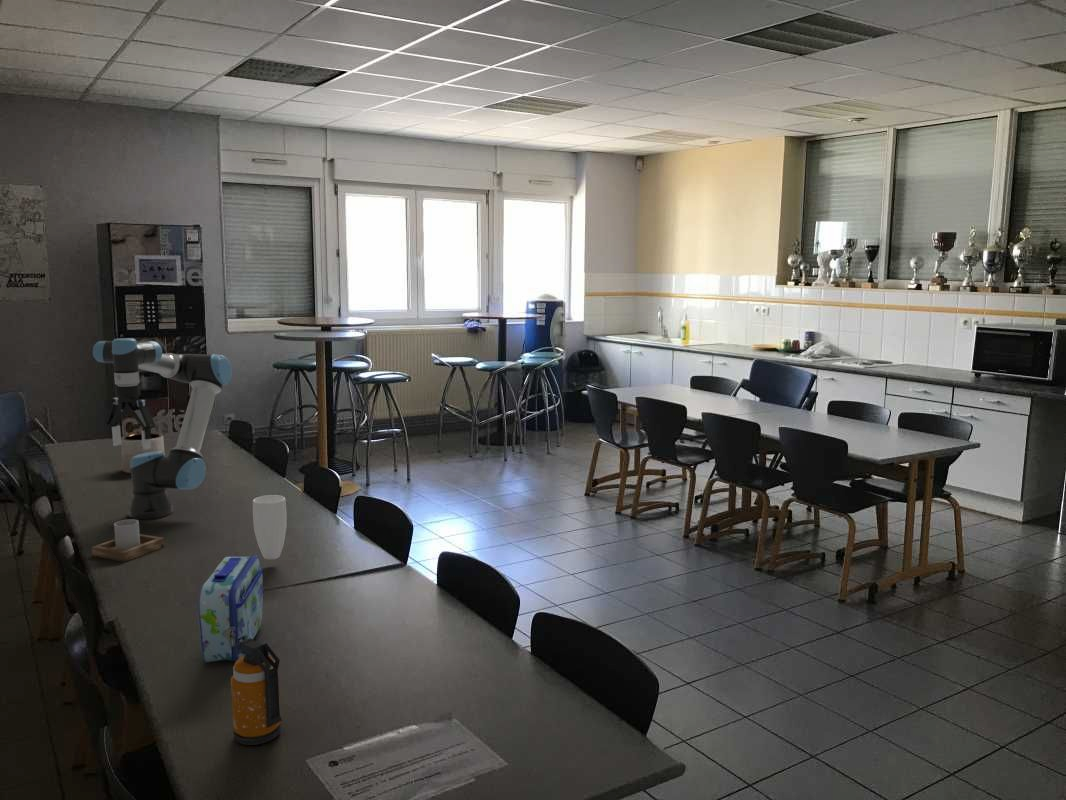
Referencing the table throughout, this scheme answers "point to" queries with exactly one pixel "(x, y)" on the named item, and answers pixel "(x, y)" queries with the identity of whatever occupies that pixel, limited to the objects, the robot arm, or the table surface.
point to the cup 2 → (270, 524)
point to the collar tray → (112, 553)
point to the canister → (255, 694)
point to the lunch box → (230, 607)
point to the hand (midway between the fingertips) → (132, 446)
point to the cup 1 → (126, 534)
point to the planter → (138, 447)
